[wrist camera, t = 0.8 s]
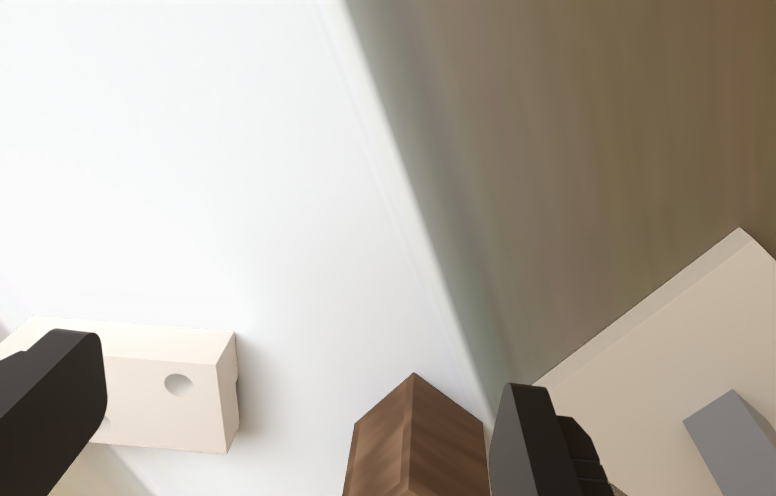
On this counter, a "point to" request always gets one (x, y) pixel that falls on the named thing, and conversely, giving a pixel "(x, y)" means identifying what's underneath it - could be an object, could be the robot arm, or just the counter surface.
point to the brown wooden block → (417, 447)
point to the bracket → (157, 382)
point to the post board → (684, 381)
